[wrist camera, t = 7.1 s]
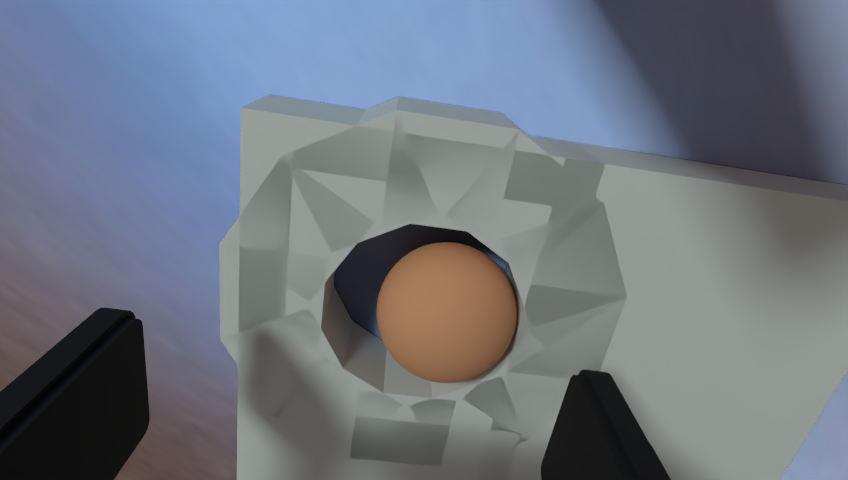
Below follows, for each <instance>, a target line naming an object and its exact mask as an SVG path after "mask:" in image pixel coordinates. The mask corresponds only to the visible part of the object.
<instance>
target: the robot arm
mask: <svg viewBox="0 0 848 480" xmlns="http://www.w3.org/2000/svg"><path fill="white" fill-rule="evenodd" d="M148 425H149V404H148V390H147V377H146V364H145V350H144V337H143V325H142V322H141V320H139V319H135V315H134V313H133V312H131V311H127V310H119V309H111V308H100V309H98V310H96V311H95V312H94V313H93V314H92V315H90V316H89V317H88V318H87V319H86V320H85V321H83V322H82V323H81V324H80V325H79V326H77V327H76V328H75V329H74V330H73V331H72V332H70V333H69V334H68V335H67V336H66V337H64V338H63V339H62V340H61V341H60V342H59V343H57V344H56V345H55V346H54V347H53V348H52V349H50V350H49V351H48V352H47V353H46V354H44V355H43V356H42V357H41V358H40V359H39V360H37V361H36V362H35V363H34V364H33V365H31V366H30V367H29V368H28V369H27V370H26V371H24V372H23V373H22V374H21V375H20V376H19V377H17V378H16V379H15V380H14V381H13V382H11V383H10V384H9V385H8V386H7V387H6V388H4V389H3V390H2V391H1V392H0V480H114V478H115V477H116V475H117V474H118V473H119V471H120V470H121V468H122V467H123V465H124V464H125V462H126V461H127V460H128V458H129V457H130V455H131V454H132V452H133V451H134V449H135V448H136V447H137V445H138V444H139V442H140V441H141V439H142V438H143V436H144V435H145V433H146V430H147V428H148ZM541 479H542V480H671V479H670V477H669V475H668V474H667V472H666V470H665V468H664V466H663V465H662V463H661V461H660V459H659V458H658V456H657V454H656V452H655V451H654V449H653V447H652V446H651V444H650V443H649V442H648V440H647V438H646V436H645V435H644V433H643V431H642V429H641V427H640V426H639V424H638V422H637V420H636V419H635V417H634V415H633V413H632V411H631V410H630V408H629V406H628V404H627V403H626V401H625V399H624V397H623V395H622V394H621V392H620V390H619V388H618V387H617V385H616V383H615V381H614V379H613V378H612V376H611V375H610V374H609V373H607V372H601V371H593V370H585V369H583V370H581V371H580V372H579V374H578V375H573V376H572V377H571V378H570V381H569V384H568V387H567V390H566V393H565V396H564V398H563V401H562V404H561V407H560V410H559V413H558V416H557V419H556V422H555V425H554V428H553V431H552V434H551V437H550V440H549V443H548V446H547V449H546V452H545V454H544V457H543V460H542V464H541Z"/></svg>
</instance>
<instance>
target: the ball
mask: <svg viewBox="0 0 848 480" xmlns="http://www.w3.org/2000/svg"><path fill="white" fill-rule="evenodd" d="M516 316H517V310H516V301H515V297H514V292H513V289H512V287H511V285H510V282H509V280H508V278H507V277H506V275H505V274H504V272H503V270H502V269H501V268H500V267H499V266H498V265H497V263H496V262H494V261H493V260H492V259H491V258H490V257H489V256H487V255H486V254H484V253H483V252H481V251H479V250H477V249H475V248H473V247H471V246H468V245H464V244H460V243H455V242H439V243H433V244H428V245H425V246H422V247H419V248H417V249H415V250H413V251H411V252H409V253H408V254H407V255H405V256H404V257H402V258H401V259H400V260H399V261H398V262H397V263H396V264H395V265H394V266H393V268H392V269H391V270H390V271H389V273H388V275H387V276H386V278H385V280H384V282H383V284H382V286H381V289H380V293H379V296H378V302H377V323H378V328H379V332H380V335H381V338H382V340H383V342H384V344H385V346H386V348H387V350H388V351H389V353H390V354H391V356H392V357H393V358H394V359H395V360H396V361H397V362H398V364H400V365H401V366H402V367H403V368H404V369H406V370H407V371H409V372H410V373H412V374H414V375H415V376H418V377H420V378H422V379H425V380H428V381H432V382H438V383H456V382H462V381H466V380H469V379H472V378H474V377H477V376H479V375H481V374H482V373H484V372H485V371H487V370H488V369H490V368H491V367H492V366H493V365H494V364H495V363H496V362H497V361H498V360H499V359H500V358H501V357H502V355H503V354H504V353H505V351H506V349H507V348H508V346H509V344H510V342H511V339H512V337H513V334H514V330H515V326H516Z"/></svg>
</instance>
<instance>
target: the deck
mask: <svg viewBox="0 0 848 480" xmlns="http://www.w3.org/2000/svg"><path fill="white" fill-rule="evenodd" d="M408 224H417V225H424V226H431V227H439V228H446V229H453V230H460V231H467V232H468V233H470V234H471V235H472V236H474V237H475V238H476V239H478V240H479V241H480V242H482V243H483V244H484V245H485V246H487V247H488V248H489V249H491V250H492V251H493V252H495V253H496V254H497V255H499V256H500V257H501V258H502V259H504V260H505V261H506V264H507V267H508V268H507V272H506V277H507V278H508V280H509V282H510V285H511V287H512V289H513V292H514V297H515V301H516V310H517V316H516V326H515V330H514V334H513V337H512V339H511V342H510V344H509V346H508V348H507V349H506V351H505V353H504V354H503V355H502V357H501V358H500V359H499V360H498V361H497V362H496V363H495V364H494V365H493V366H492V367H491V368H490V369H488V370H487V371H485V372H484V373H482V374H481V375H479V376H477V377H474V378H472V379H469V380H466V381H462V382H456V383H438V382H432V381H428V380H425V379H422V378H420V377H418V376H415V375H414V374H412V373H410V372H409V371H407V370H406V369H404V368H403V367H402V366H401V365H400V364H398V362H397V361H396V360H395V359H394V358H393V357H392V356H391V354H390V353H389V351H388V350H387V348H386V346H385V344H384V342H383V341H382V340H381V339H379V338H378V337H376V336H375V335H373V334H372V333H370V332H368V331H367V330H365V329H364V328H362V327H361V326H359V325H358V324H356V323H354V322H353V321H352V319H351V318H350V316H349V314H348V312H347V310H346V308H345V306H344V304H343V302H342V300H341V298H340V297H339V295H338V293H337V291H336V289H335V287H334V277H335V270H336V269H337V267H338V266H339V265H340V264H341V262H342V261H343V260H344V259H345V258H346V256H347V255H348V254H349V253H350V252H351V250H352V249H353V248H354V247H355V245H356V244H357V243H359V242H362V241H365V240H367V239H370V238H373V237H375V236H378V235H381V234H384V233H386V232H389V231H392V230H394V229H397V228H400V227H403V226H405V225H408ZM220 340H221V341H222V343H223V344H224V346H225V347H226V349H227V350H228V352H229V353H230V355H231V356H232V358H233V359H234V361H235V362H236V364H237V365H238V419H237V480H542V479H541V464H542V460H543V457H544V454H545V452H546V449H547V446H548V443H549V440H550V437H551V434H552V431H553V428H554V425H555V422H556V419H557V416H558V413H559V410H560V407H561V404H562V401H563V398H564V396H565V393H566V390H567V387H568V384H569V381H570V378H571V377H572V376H573V375H578V374H579V372H580V371H581V370H583V369H585V370H593V371H601V372H607V373H609V374H610V375H611V376H612V378H613V379H614V381H615V383H616V385H617V387H618V388H619V390H620V392H621V394H622V395H623V397H624V399H625V401H626V403H627V404H628V406H629V408H630V410H631V411H632V413H633V415H634V417H635V419H636V420H637V422H638V424H639V426H640V427H641V429H642V431H643V433H644V435H645V436H646V438H647V440H648V442H649V443H650V444H651V446H652V447H653V449H654V451H655V452H656V454H657V456H658V458H659V459H660V461H661V463H662V465H663V466H664V468H665V470H666V472H667V474H668V475H669V477H670V479H671V480H780V479H781V478H782V476H783V475H784V473H785V471H786V470H787V468H788V467H789V465H790V463H791V462H792V460H793V458H794V457H795V455H796V454H797V452H798V450H799V449H800V447H801V446H802V444H803V442H804V441H805V439H806V437H807V436H808V434H809V433H810V431H811V429H812V428H813V426H814V424H815V423H816V421H817V420H818V418H819V416H820V415H821V413H822V412H823V410H824V408H825V407H826V405H827V403H828V402H829V400H830V399H831V397H832V395H833V394H834V392H835V391H836V389H837V387H838V386H839V384H840V382H841V381H842V379H843V378H844V376H845V374H846V373H847V371H848V186H847V185H841V184H835V183H828V182H822V181H816V180H809V179H803V178H797V177H790V176H784V175H778V174H771V173H765V172H759V171H752V170H746V169H740V168H733V167H727V166H721V165H714V164H708V163H702V162H695V161H689V160H683V159H676V158H670V157H663V156H657V155H651V154H644V153H638V152H632V151H625V150H619V149H613V148H606V147H600V146H594V145H587V144H581V143H575V142H568V141H562V140H556V139H549V138H543V137H537V136H530V135H526V134H525V133H524V132H523V131H522V130H521V129H520V128H518V127H517V126H516V125H515V124H514V123H513V122H511V121H510V120H509V119H508V118H507V117H506V116H505V115H503V114H502V113H500V112H493V111H487V110H481V109H475V108H468V107H462V106H456V105H450V104H444V103H437V102H431V101H425V100H419V99H413V98H406V97H400V96H398V97H396V98H393V99H391V100H388V101H386V102H383V103H381V104H378V105H376V106H373V107H371V108H368V109H359V108H353V107H347V106H340V105H334V104H328V103H321V102H315V101H308V100H302V99H296V98H289V97H283V96H277V95H270V94H269V95H267V96H265V97H263V98H261V99H259V100H257V101H254V102H252V103H250V104H248V105H246V106H244V107H241V143H240V216H239V217H238V219H237V220H236V221H235V223H234V224H233V226H232V227H231V228H230V230H229V231H228V233H227V234H226V235H225V237H224V238H223V240H222V241H221V243H220Z"/></svg>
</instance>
